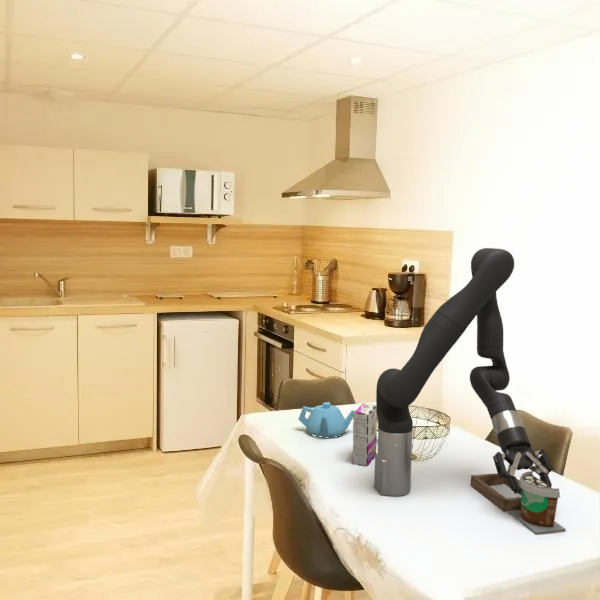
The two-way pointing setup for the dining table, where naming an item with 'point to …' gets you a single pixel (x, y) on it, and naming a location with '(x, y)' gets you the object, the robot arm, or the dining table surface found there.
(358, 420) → the candy bar box
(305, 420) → the teapot
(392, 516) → the dining table surface
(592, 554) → the dining table surface
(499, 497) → the walnut frame
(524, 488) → the food container
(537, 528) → the rubber mat
